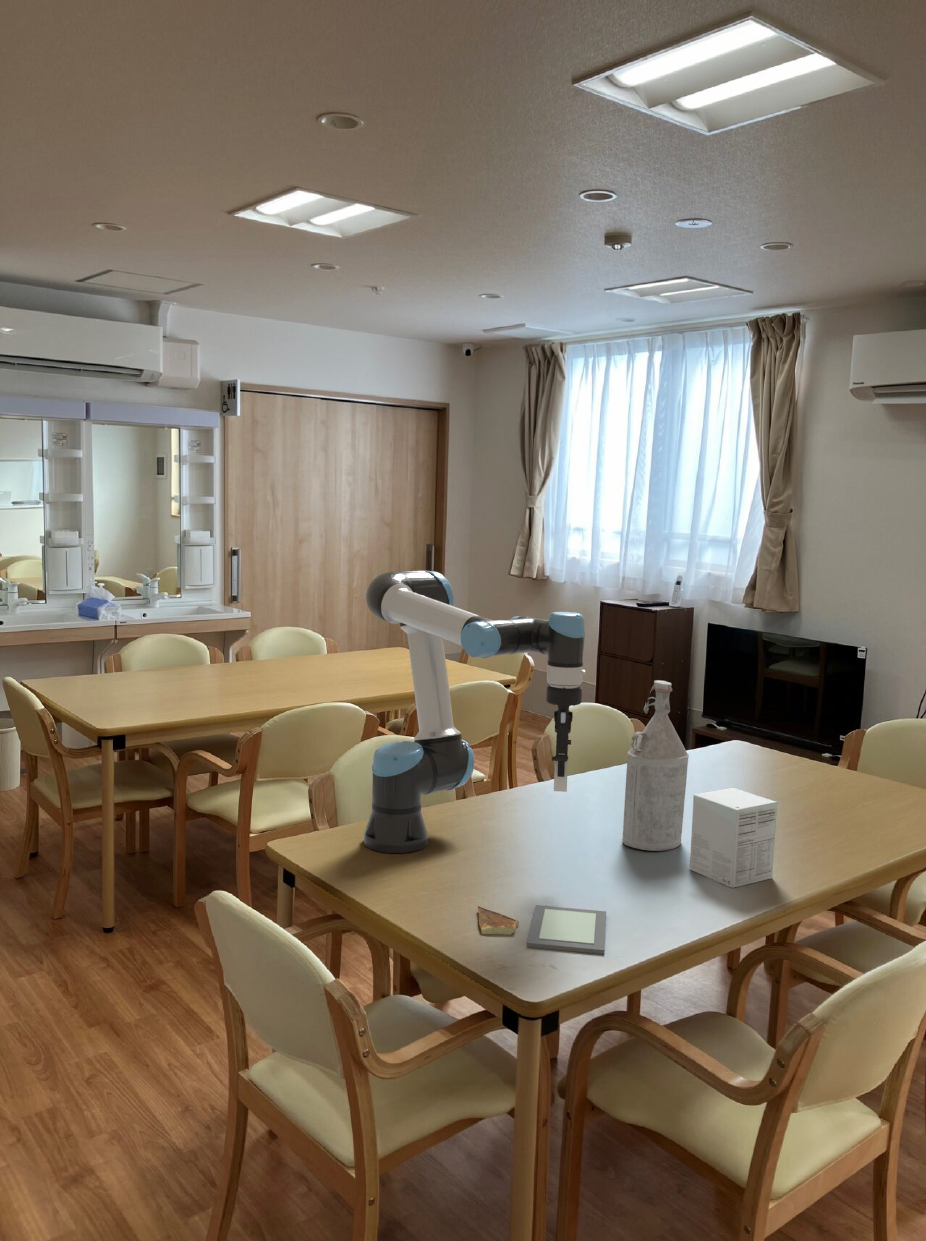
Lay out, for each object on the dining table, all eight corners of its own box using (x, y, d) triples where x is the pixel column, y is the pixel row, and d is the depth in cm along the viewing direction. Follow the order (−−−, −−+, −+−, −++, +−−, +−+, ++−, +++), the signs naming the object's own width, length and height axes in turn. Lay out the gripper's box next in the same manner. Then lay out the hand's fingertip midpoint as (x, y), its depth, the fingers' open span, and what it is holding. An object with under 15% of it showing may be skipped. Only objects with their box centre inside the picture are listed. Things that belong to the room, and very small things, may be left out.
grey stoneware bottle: (607, 843, 244) (615, 680, 239) (653, 829, 255) (661, 674, 251) (649, 857, 234) (658, 689, 230) (694, 843, 245) (703, 682, 241)
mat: (527, 946, 184) (527, 941, 184) (535, 908, 202) (535, 904, 202) (604, 954, 182) (604, 948, 182) (606, 915, 200) (606, 910, 200)
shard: (477, 913, 200) (477, 904, 200) (516, 914, 200) (516, 905, 200) (479, 936, 189) (479, 927, 189) (520, 937, 190) (520, 927, 189)
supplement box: (774, 878, 223) (779, 801, 221) (732, 889, 216) (737, 809, 214) (729, 860, 234) (733, 786, 232) (687, 869, 227) (692, 793, 225)
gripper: (582, 696, 202) (578, 799, 204) (581, 676, 227) (578, 768, 229) (545, 694, 203) (541, 797, 205) (548, 674, 228) (544, 766, 230)
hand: (560, 782), depth 217 cm, fingers open, 13 cm apart
